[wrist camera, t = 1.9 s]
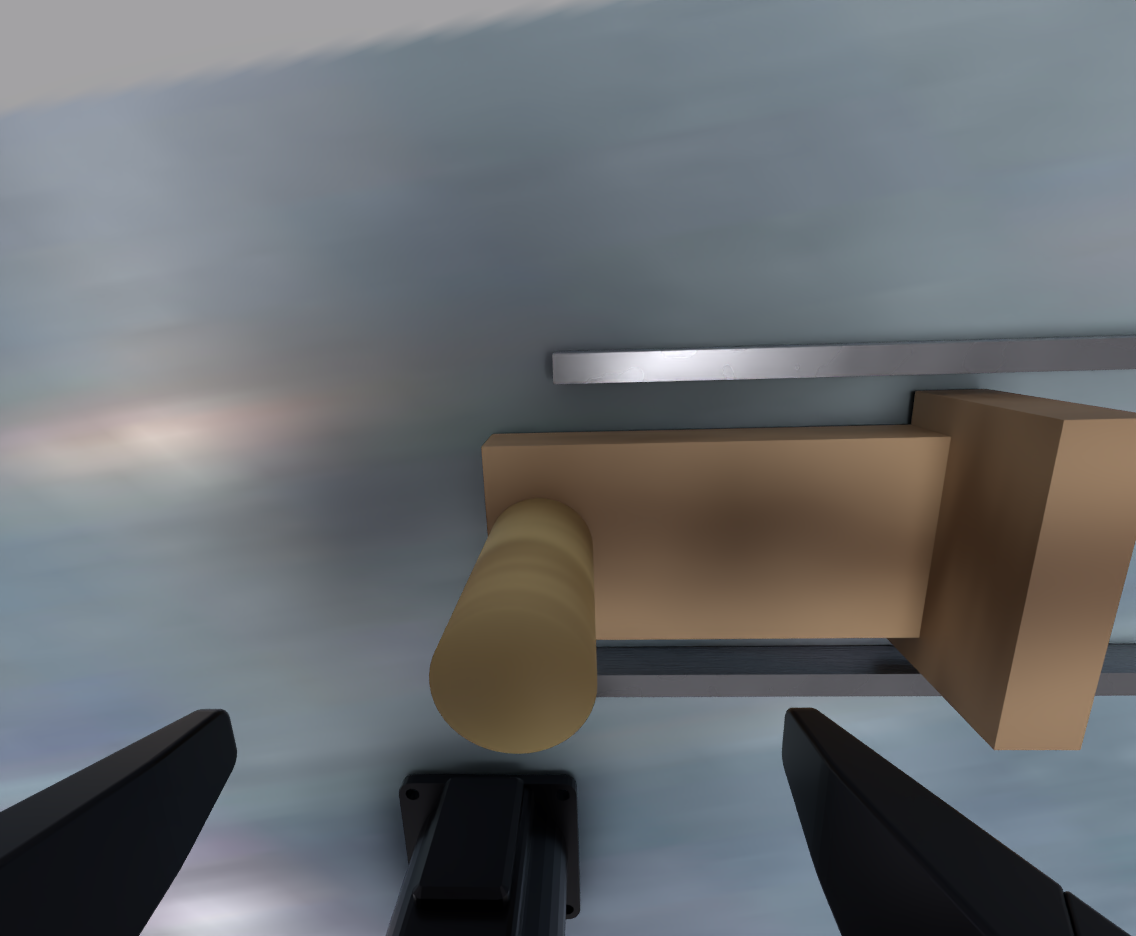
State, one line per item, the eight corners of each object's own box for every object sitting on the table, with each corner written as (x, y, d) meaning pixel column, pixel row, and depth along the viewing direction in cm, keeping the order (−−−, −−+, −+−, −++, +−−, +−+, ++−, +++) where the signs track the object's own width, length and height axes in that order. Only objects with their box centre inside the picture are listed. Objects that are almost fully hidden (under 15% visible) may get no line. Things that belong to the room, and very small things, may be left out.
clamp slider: (944, 632, 18) (1214, 865, 10) (506, 636, 18) (448, 857, 11) (986, 389, 15) (1366, 449, 8) (490, 401, 16) (405, 468, 8)
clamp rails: (1133, 665, 18) (1181, 695, 16) (566, 668, 19) (564, 697, 17) (1226, 332, 15) (1295, 333, 14) (555, 351, 16) (552, 354, 14)
